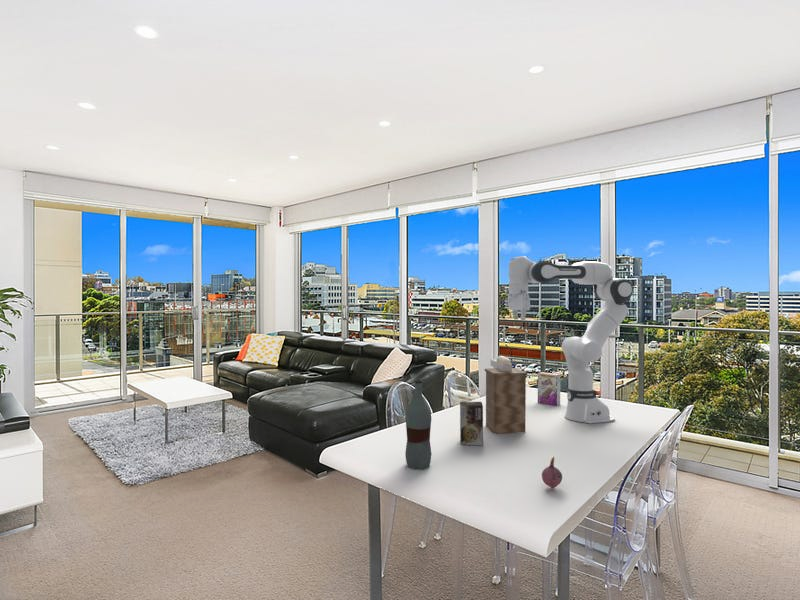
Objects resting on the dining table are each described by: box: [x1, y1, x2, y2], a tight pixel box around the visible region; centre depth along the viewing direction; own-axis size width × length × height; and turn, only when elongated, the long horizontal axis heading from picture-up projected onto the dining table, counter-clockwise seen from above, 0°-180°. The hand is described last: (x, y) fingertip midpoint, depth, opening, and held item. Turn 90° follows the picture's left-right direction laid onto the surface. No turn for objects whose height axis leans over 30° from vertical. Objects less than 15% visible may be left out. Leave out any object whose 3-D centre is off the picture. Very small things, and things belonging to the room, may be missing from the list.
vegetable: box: [541, 456, 563, 489], centre depth 145 cm, size 6×6×10 cm
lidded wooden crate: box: [484, 367, 528, 434], centre depth 208 cm, size 15×13×26 cm
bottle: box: [404, 379, 432, 470], centre depth 164 cm, size 9×9×30 cm
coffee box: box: [459, 401, 484, 446], centre depth 189 cm, size 9×6×16 cm
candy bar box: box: [537, 371, 561, 406], centre depth 256 cm, size 11×5×16 cm, turn 49°
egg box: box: [490, 355, 513, 372], centre depth 213 cm, size 4×18×6 cm, turn 7°
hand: (519, 319), depth 221 cm, fingers open, 8 cm apart
